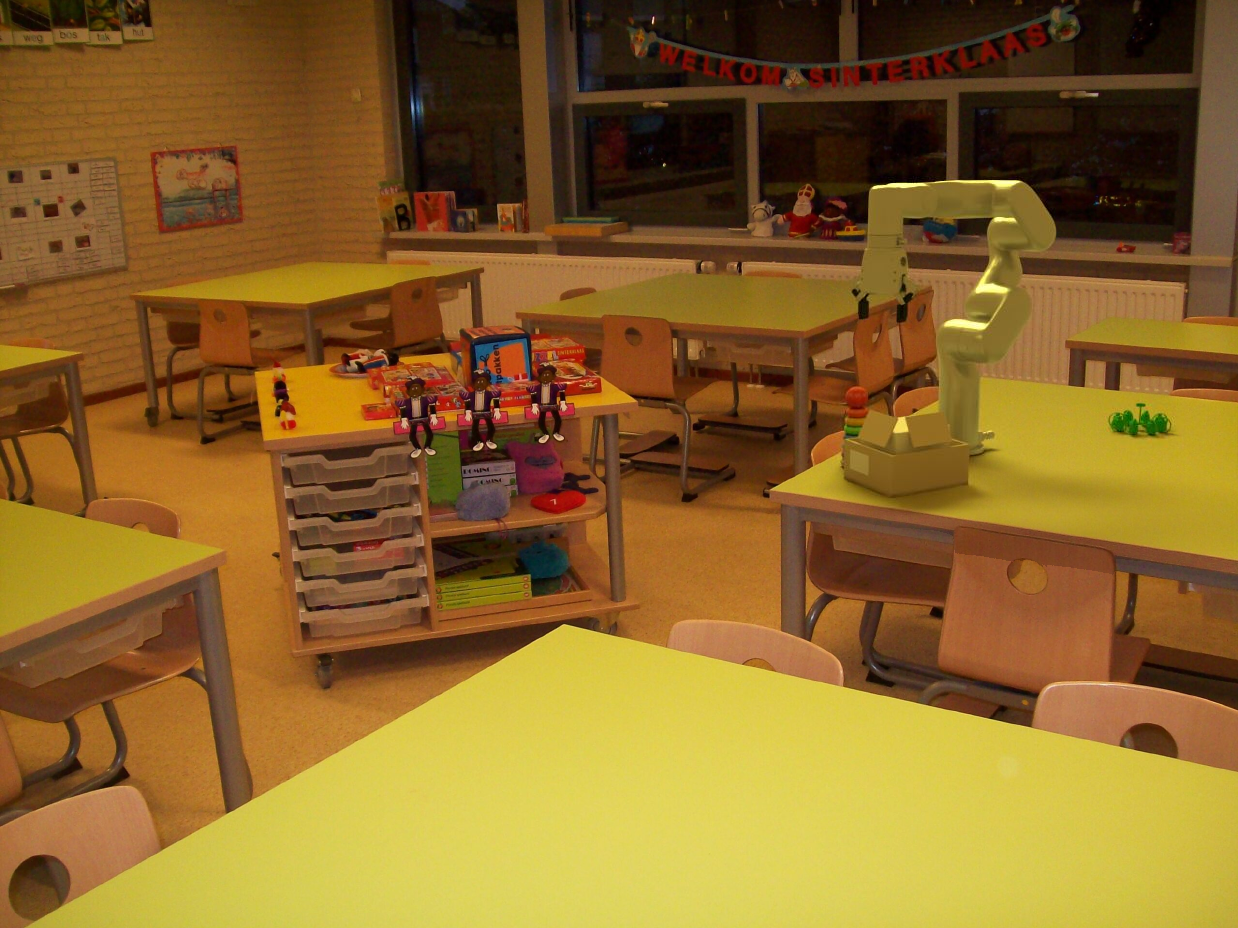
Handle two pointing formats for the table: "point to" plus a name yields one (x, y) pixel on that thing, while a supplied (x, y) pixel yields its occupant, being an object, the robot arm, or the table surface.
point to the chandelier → (1150, 424)
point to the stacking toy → (854, 414)
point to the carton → (905, 464)
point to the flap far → (877, 428)
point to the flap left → (928, 429)
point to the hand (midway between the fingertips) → (882, 320)
